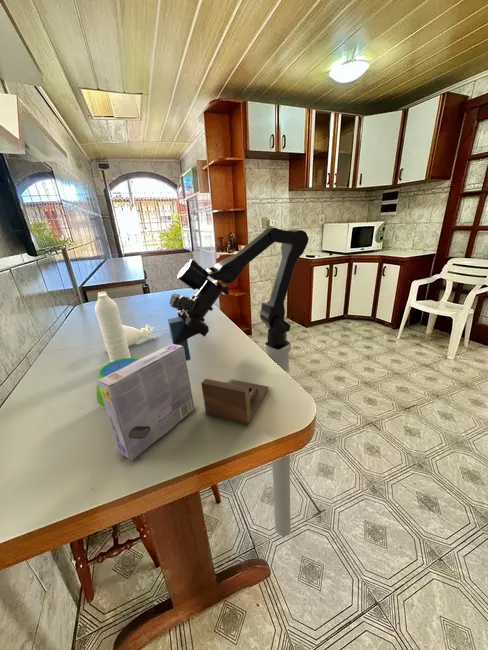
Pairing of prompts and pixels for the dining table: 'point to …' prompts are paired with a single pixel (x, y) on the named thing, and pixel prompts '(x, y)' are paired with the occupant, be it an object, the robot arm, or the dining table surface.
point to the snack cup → (111, 369)
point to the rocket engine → (137, 334)
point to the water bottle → (111, 327)
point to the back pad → (175, 329)
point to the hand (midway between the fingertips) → (174, 340)
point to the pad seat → (232, 399)
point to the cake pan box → (147, 399)
